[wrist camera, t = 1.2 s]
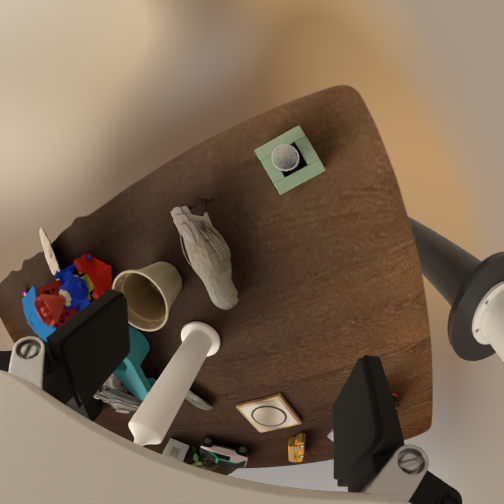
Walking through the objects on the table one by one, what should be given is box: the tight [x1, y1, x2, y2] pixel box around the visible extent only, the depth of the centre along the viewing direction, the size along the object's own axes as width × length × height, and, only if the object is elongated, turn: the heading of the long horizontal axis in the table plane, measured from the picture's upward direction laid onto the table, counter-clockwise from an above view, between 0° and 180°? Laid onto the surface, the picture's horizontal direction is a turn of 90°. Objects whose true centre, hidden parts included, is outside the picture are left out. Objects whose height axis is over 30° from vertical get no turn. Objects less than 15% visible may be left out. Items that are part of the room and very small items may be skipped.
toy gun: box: [93, 385, 144, 414], centre depth 49 cm, size 4×21×15 cm
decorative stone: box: [40, 227, 61, 280], centre depth 46 cm, size 8×14×2 cm, turn 35°
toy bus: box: [288, 433, 307, 462], centre depth 50 cm, size 3×10×4 cm
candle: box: [129, 322, 220, 446], centre depth 34 cm, size 7×7×25 cm
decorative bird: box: [171, 197, 239, 310], centre depth 37 cm, size 5×16×8 cm, turn 19°
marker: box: [272, 144, 300, 171], centre depth 28 cm, size 2×2×13 cm
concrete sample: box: [195, 463, 237, 475], centre depth 55 cm, size 11×10×5 cm
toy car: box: [200, 437, 248, 468], centre depth 54 cm, size 6×12×5 cm, turn 81°
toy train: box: [22, 254, 112, 342], centre depth 40 cm, size 10×16×15 cm, turn 120°
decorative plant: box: [189, 447, 209, 466], centre depth 60 cm, size 6×8×30 cm
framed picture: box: [236, 393, 302, 432], centre depth 49 cm, size 10×10×1 cm
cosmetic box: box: [162, 438, 189, 462], centre depth 58 cm, size 8×6×15 cm
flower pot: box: [112, 262, 182, 331], centre depth 39 cm, size 9×9×9 cm
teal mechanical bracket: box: [113, 326, 156, 400], centre depth 47 cm, size 7×15×8 cm
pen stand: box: [254, 125, 326, 195], centre depth 32 cm, size 6×6×5 cm
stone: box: [184, 390, 213, 411], centre depth 50 cm, size 12×2×5 cm
